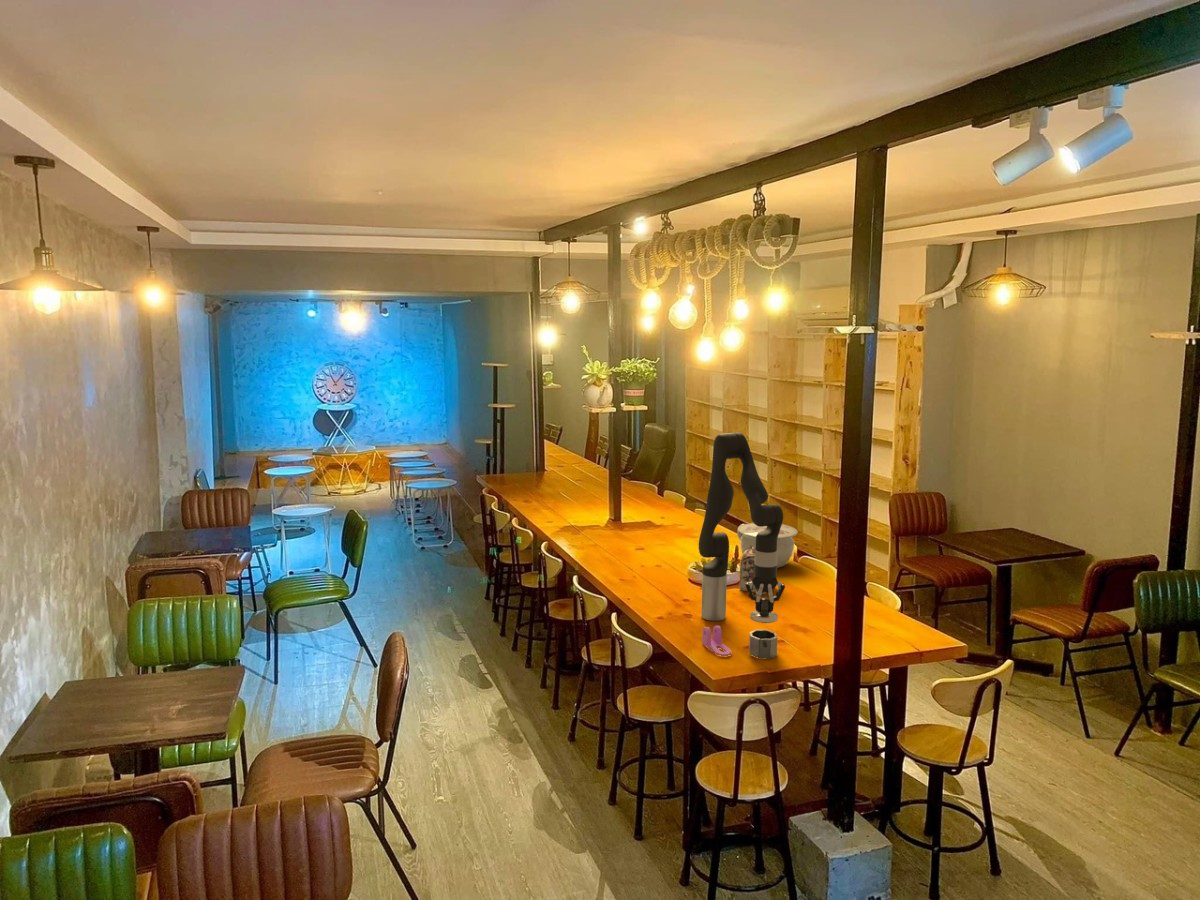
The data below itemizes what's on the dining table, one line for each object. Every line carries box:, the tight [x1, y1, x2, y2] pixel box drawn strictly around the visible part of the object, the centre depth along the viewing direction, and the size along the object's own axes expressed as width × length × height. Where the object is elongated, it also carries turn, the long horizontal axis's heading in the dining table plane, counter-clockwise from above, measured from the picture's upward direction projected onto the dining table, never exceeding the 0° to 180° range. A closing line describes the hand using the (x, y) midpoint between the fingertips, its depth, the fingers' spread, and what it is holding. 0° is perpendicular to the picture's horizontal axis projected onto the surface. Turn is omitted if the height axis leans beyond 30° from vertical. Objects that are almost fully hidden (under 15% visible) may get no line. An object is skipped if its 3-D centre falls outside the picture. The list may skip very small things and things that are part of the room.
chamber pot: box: [736, 522, 799, 569], centre depth 384 cm, size 28×28×21 cm
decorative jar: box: [739, 547, 768, 595], centre depth 351 cm, size 12×12×18 cm
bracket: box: [701, 625, 733, 656], centre depth 287 cm, size 13×6×7 cm, turn 21°
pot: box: [748, 629, 778, 660], centre depth 284 cm, size 13×9×7 cm
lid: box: [749, 597, 779, 624], centre depth 282 cm, size 9×9×7 cm
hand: (764, 611), depth 282 cm, fingers closed on lid, 3 cm apart
